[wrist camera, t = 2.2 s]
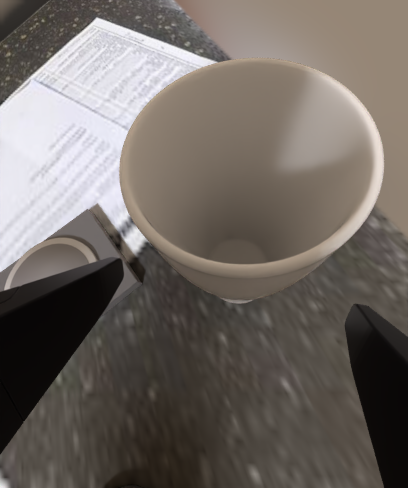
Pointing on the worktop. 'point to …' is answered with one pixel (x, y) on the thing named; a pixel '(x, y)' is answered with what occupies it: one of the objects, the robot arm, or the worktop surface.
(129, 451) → the worktop surface
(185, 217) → the drinking glass
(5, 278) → the grey ringed base plate
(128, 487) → the lens cap
